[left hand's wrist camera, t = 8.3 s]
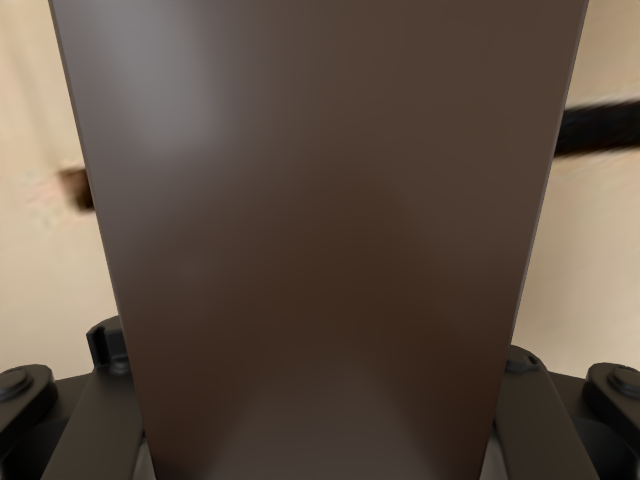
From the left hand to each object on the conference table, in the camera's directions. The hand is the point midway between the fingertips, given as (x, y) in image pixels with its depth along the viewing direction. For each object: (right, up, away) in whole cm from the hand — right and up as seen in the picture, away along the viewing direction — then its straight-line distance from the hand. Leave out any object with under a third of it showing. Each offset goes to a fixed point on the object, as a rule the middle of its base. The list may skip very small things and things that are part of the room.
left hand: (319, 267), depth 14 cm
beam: (0, +10, -3) cm, 11 cm away
